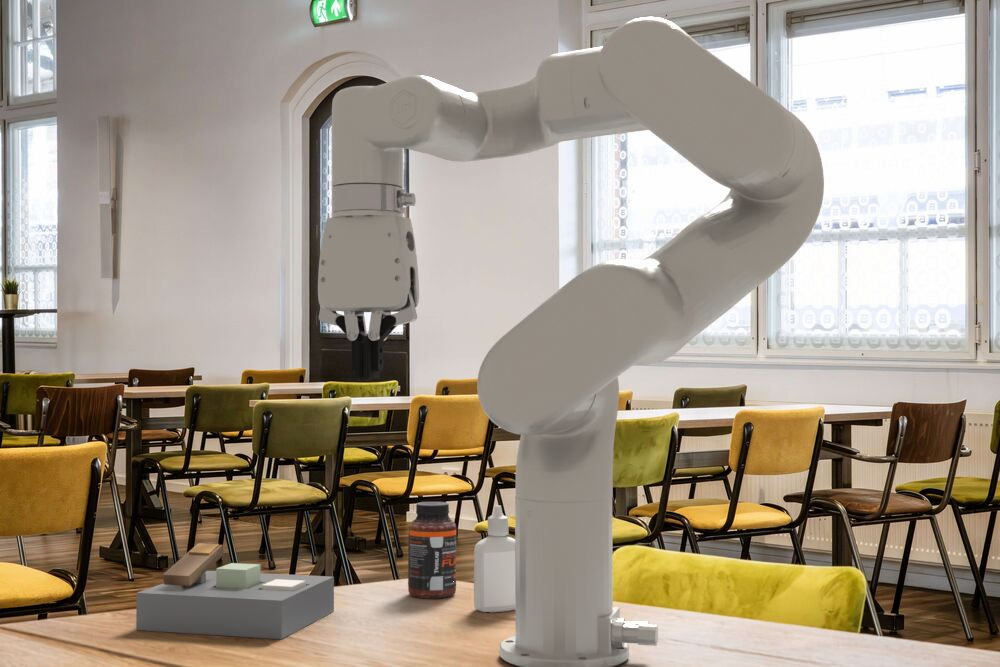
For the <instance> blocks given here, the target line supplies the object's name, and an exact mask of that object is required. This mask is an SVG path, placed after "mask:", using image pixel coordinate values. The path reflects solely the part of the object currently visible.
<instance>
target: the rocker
mask: <svg viewBox="0 0 1000 667" xmlns="http://www.w3.org/2000/svg"><path fill="white" fill-rule="evenodd" d="M224 555H225V552H224V546H223V544H220V543H204V542H202V543H201V542H200V543H197V544H195V545H194V546H193V547H192V548H191V549H190V550H189V551H188V552H186V554H184V555H183V556H182V557H181V558H180V559H179V560H177V561H176V562H175V563H174V564H173V565H172V566H171V567H170V568H168V570H166V571H165V572H164V573H163V574H162V579H163V583H164V585H180V586H191V585H192V584H193V583H194V582H195V581H196V580H197V579H198V578H200V577H201V576H202V575H203V574H204V573H205V572H206V571H209V569H210V568H211V567H213V566H214V564H215V563H216V562H218V561H219V560H220V559H221V558H222V557H223V556H224Z"/></svg>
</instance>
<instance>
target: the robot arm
mask: <svg viewBox="0 0 1000 667" xmlns="http://www.w3.org/2000/svg"><path fill="white" fill-rule="evenodd" d="M331 105H332V106H331V217H327V218H326V221H325V223H324V224H325V225H324V230H323V232H322V233H323V234H322V238H321V247H320V253H319V259H318V260H319V262H318V264H319V265H318V273H317V274H318V275H317V276H318V277H317V279H318V280H317V296H318V297H317V299H318V304H319V306H320V310H319V315H318V320H319V321H320V322H321V323H325V324H328V325H329V324H330V325H333V326H337V327H339V329H340V330H341V331H342V332H343V333H344V334H345V335H346V337H347V339H348V340H349V341H351V369H352V372H354V377H355V379H356V380H363V379H365V380H373V379H374V380H375V379H380V377H381V372H382V371H384V341H386V340H387V339H388V338H389V335H390V334H391V333H392V332H393V331H394V330H395V329H396V328H397V327H399V326H400V325H401V326H402V325H405V324H409V323H413V322H415V321H417V319H418V314H417V309H416V308H417V307H418V305H419V302H420V282H419V281H420V280H419V278H420V277H419V269H418V266H419V265H418V257H417V247H416V241H415V240H416V239H415V234H414V228H413V224H412V220H411V218H410V217H404V214H405V213H406V208H408V207H413V206H416V200H417V199H416V194H415V193H413V192H410V193H409V192H408V191H406V189H405V188H404V149H407V150H410V151H414V152H418V153H422V154H427V155H431V156H434V157H437V158H440V159H442V160H444V161H445V160H446V161H451V162H461V163H462V162H464V163H465V162H476V161H484V160H491V159H494V160H495V159H499V158H500V159H501V158H507V157H515V156H519V155H526V154H529V153H532V152H537V151H539V150H542V149H543V150H544V149H546V148H550V147H553V146H555V145H558V144H559V143H561V142H568V141H574V140H581V139H589V138H597V137H603V136H612V135H619V134H626V133H627V134H628V133H634V132H642V131H650V132H651V133H652V134H654V135H655V136H656V137H657V138H659V139H660V140H661V141H662V142H664V143H665V144H666V145H668V146H669V147H671V149H673V150H674V151H675V152H676V153H678V154H679V155H681V157H683V158H684V159H685V160H687V161H688V162H689V163H690V164H691V165H693V166H694V167H695V168H696V169H698V170H699V171H700V172H702V173H703V174H704V175H706V176H707V177H709V178H710V179H711V180H713V181H715V182H716V183H718V184H719V185H721V186H723V187H726V188H728V189H730V190H729V192H728V194H727V195H726V196H725V198H724V199H723V200H722V201H721V202H720V203H719V204H718V205H716V206H715V207H713V208H712V209H711V210H709V211H707V212H705V213H704V214H702V215H700V216H699V217H698V218H696V219H694V220H693V221H692V222H691V223H689V224H688V225H687V226H685V227H684V228H683V229H682V230H681V231H680V232H679V233H678V234H676V235H675V236H674V237H673V238H671V240H669V241H668V242H667V243H665V244H664V245H662V246H661V247H660V248H659V249H657V250H656V251H655V252H653V253H652V254H650V255H649V256H647V257H646V258H644V259H642V260H639V261H636V260H631V259H613V260H607V261H602V262H601V263H597V264H595V265H593V266H590V268H587V269H586V270H584V271H582V272H580V273H579V274H577V275H576V276H575V277H573V278H572V279H571V280H569V281H568V282H567V283H566V284H564V285H563V286H562V287H561V288H560V289H558V290H557V291H556V292H555V293H553V294H552V295H551V296H550V297H549V298H547V299H546V300H545V301H544V302H542V303H541V304H540V305H539V306H538V307H536V308H535V309H534V310H533V311H532V312H530V313H529V314H528V315H527V316H525V317H524V318H523V319H521V320H520V321H519V322H518V323H517V324H516V325H515V326H513V327H512V328H511V329H510V330H508V331H507V332H506V333H505V334H504V335H503V336H502V337H500V338H499V339H498V340H497V341H496V342H495V343H494V344H493V346H492V347H490V349H489V351H487V353H486V355H485V356H484V358H483V360H482V362H481V364H480V366H479V370H478V374H477V382H476V383H477V384H476V389H477V390H476V391H477V397H478V400H479V405H480V406H481V408H482V410H483V413H485V415H486V416H487V418H488V419H489V420H490V421H491V422H492V423H493V424H495V426H497V427H498V428H500V429H502V430H504V431H506V432H509V433H512V434H515V435H520V438H519V444H518V448H517V449H518V450H517V455H516V463H515V496H514V500H515V501H514V506H515V507H514V508H515V510H514V514H515V515H514V518H515V519H514V520H515V521H514V522H515V523H514V524H515V525H514V526H515V527H514V528H515V529H514V531H515V533H514V534H515V535H514V536H515V537H514V539H515V610H514V611H515V616H514V617H515V635H512V636H510V637H507V638H505V639H504V640H502V642H501V643H499V656H500V658H501V659H502V660H504V662H506V663H508V664H510V665H513V666H515V667H616V666H618V665H620V664H623V663H625V662H626V661H627V660H628V659H629V656H630V652H629V651H630V650H629V649H630V647H629V644H636V645H638V646H654V647H657V646H658V641H659V627H658V626H659V625H657V624H650V623H649V621H638V620H636V621H626V620H625V618H624V617H622V618H621V617H620V615H621V613H620V612H621V610H620V609H621V608H620V606H614V605H613V602H614V600H613V598H614V596H613V593H614V592H613V590H614V589H613V586H614V584H613V577H614V576H613V574H614V573H613V568H614V567H613V565H614V563H613V560H614V559H613V495H614V493H613V491H614V490H613V488H614V487H613V486H614V485H613V483H614V481H613V480H614V478H613V477H614V474H613V473H614V472H613V471H614V468H613V467H614V445H615V433H616V427H617V419H618V411H619V403H620V402H619V400H620V384H619V376H621V375H623V373H625V372H626V371H627V370H629V369H630V368H632V367H633V366H648V365H652V364H657V363H661V362H663V361H666V360H668V359H669V358H670V357H672V356H674V355H676V354H677V353H678V352H679V351H680V350H681V349H683V348H684V347H685V346H686V345H687V344H688V343H690V341H692V340H693V339H694V338H695V337H696V336H698V335H699V334H700V333H701V332H703V331H704V330H706V329H707V327H709V326H711V325H712V324H713V323H715V322H716V321H717V320H718V319H719V318H721V317H722V316H723V315H724V314H726V313H727V312H729V311H730V310H731V309H732V308H733V307H735V305H737V304H738V303H739V302H740V301H741V300H742V299H744V298H745V297H746V296H747V295H749V294H750V293H751V292H753V290H755V289H756V288H758V287H759V286H760V285H761V284H762V283H764V282H765V281H766V280H768V279H769V278H770V277H772V276H773V275H774V274H775V273H776V272H777V271H778V270H781V268H782V267H783V266H785V264H786V263H787V262H789V261H790V260H791V258H792V257H794V255H796V253H797V252H798V251H799V250H800V248H802V246H803V244H804V243H805V242H806V241H807V239H808V238H809V236H810V235H811V233H812V231H813V229H814V227H815V225H816V223H817V221H818V219H819V216H820V213H821V208H822V204H823V200H824V193H825V192H824V190H825V176H824V168H823V162H822V158H821V155H820V154H821V153H820V150H819V148H818V145H817V142H816V140H815V139H814V137H813V135H812V133H811V131H810V130H809V129H808V127H807V126H806V125H805V124H804V122H803V121H802V120H800V118H799V117H797V115H795V114H794V113H792V112H791V111H790V110H788V109H787V108H786V107H784V106H783V105H782V103H780V102H779V101H778V100H777V99H775V98H774V97H772V96H771V95H770V94H768V93H767V92H766V91H764V90H763V89H762V88H760V87H758V85H756V84H754V83H753V82H752V81H750V80H749V79H747V78H746V77H744V76H743V75H742V74H741V73H739V72H738V71H737V70H735V69H734V68H732V67H731V66H729V65H728V64H727V63H725V62H724V61H723V60H721V59H720V58H718V57H717V56H716V55H714V54H713V53H712V52H710V51H709V50H707V49H706V47H704V46H702V44H700V43H699V42H698V41H697V40H695V39H694V38H693V36H691V35H689V34H688V33H687V32H686V31H685V30H684V29H682V28H681V27H680V26H678V25H677V24H675V23H674V22H672V21H670V20H667V19H664V18H662V17H654V16H647V17H646V16H645V17H639V18H634V19H631V20H629V21H627V22H625V23H624V24H622V25H620V26H618V27H616V29H615V30H613V32H611V33H610V34H609V36H608V37H607V39H606V40H605V41H604V43H603V45H602V46H597V47H590V48H584V49H579V50H572V51H571V50H570V51H567V52H566V51H565V52H558V53H553V54H551V55H548V56H546V57H545V58H543V59H542V60H541V62H540V63H539V65H538V68H537V70H536V73H535V77H533V78H531V79H530V80H528V81H526V82H523V83H520V84H518V85H512V86H509V87H502V88H496V89H491V90H486V91H484V90H483V91H476V92H475V91H474V92H466V91H465V90H463V89H460V88H458V87H456V86H454V85H450V84H448V83H445V82H442V81H440V80H438V79H435V78H433V77H430V76H427V75H421V74H419V75H417V74H416V75H408V76H403V77H400V78H397V79H395V80H391V81H389V82H386V83H381V84H378V85H356V86H349V87H345V88H342V89H340V90H339V91H337V92H336V93H335V95H334V96H333V98H332V103H331ZM339 312H343V314H340V313H339ZM365 313H370V320H369V325H368V333H367V325H366V319H365V318H366V317H365ZM392 313H393V314H392Z"/></svg>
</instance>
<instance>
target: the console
mask: <svg viewBox="0 0 1000 667" xmlns="http://www.w3.org/2000/svg"><path fill="white" fill-rule="evenodd" d="M275 579H282V580H302V581H306V586H305V587H303V588H301V589H299V590H296V591H294V592H293V591H274V590H262V585H263V584H266V583H268V582H271V581H273V580H275ZM135 598H136V604H135V605H136V609H135V610H136V611H135V612H136V613H135V615H136V617H135V618H136V621H135V622H136V624H135V627H136V631H144V632H145V631H146V632H158V633H159V632H160V633H162V632H163V633H176V634H177V633H179V634H192V635H193V634H195V635H212V636H223V637H224V636H226V637H239V638H240V637H241V638H256V639H257V638H258V639H270V640H271V639H272V640H273V639H274V640H283V639H284V638H287V637H289V636H291V635H292V634H294V633H296V632H298V631H300V630H302V629H304V628H305V627H308V626H310V625H311V624H313V623H316V622H318V621H319V620H320V619H323V618H324V617H327V616H328V615H330V614H332V613H334V612H335V577H334V576H326V575H325V576H324V575H309V574H308V575H306V574H285V573H265V572H263V573H262V572H261V584H259V585H256V586H254V587H251V588H249V589H236V588H216V570H207V571H206V572H205V573H204V574H203V575H202V576H201V577H200V578H198V579H197V580H196V581H195V582H194V583H193V584H192V585H191V586H180V585H164V582H163V583H161V584H158V585H155V586H153V587H152V586H151V587H150V588H146V589H142V590H140V591H137V592H136V597H135Z"/></svg>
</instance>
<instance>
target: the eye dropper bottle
mask: <svg viewBox="0 0 1000 667" xmlns="http://www.w3.org/2000/svg"><path fill="white" fill-rule="evenodd" d="M493 509H494V510H493V513H492V514H491V515H489V516H488V517H487V535H488V536H487V537H485V538H483V539H481V540H479V541H477V543H476V544H475V545H474V549H473V550H474V551H473V607H474V609H475V610H476V611H480V612H482V613H486V612H490V613H502V612H509V611H515V537H514V538H513V537H511V536H508V535H509V517H508V516H506V515H504V513H503V508H502V505H496V504H495V505H494V508H493Z"/></svg>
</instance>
